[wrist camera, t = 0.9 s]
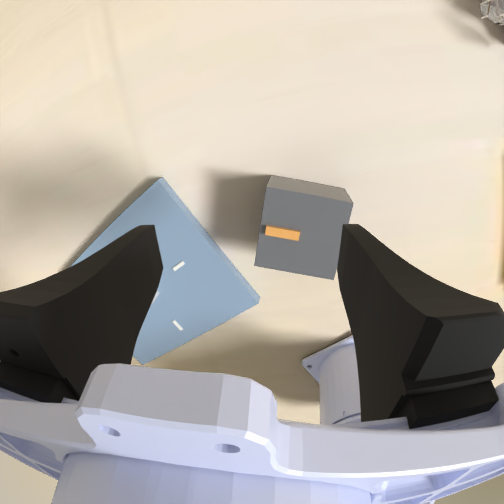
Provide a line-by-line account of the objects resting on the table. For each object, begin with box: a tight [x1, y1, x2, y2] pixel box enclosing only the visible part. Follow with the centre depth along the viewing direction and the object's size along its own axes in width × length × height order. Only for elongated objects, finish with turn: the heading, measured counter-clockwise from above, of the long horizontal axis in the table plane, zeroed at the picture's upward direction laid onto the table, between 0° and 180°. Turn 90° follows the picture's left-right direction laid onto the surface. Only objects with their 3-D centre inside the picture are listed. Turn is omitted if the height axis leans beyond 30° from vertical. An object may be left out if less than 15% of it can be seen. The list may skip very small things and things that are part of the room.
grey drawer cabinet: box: [254, 175, 353, 280], centre depth 23 cm, size 6×6×4 cm
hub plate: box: [70, 177, 260, 365], centre depth 28 cm, size 13×16×4 cm
